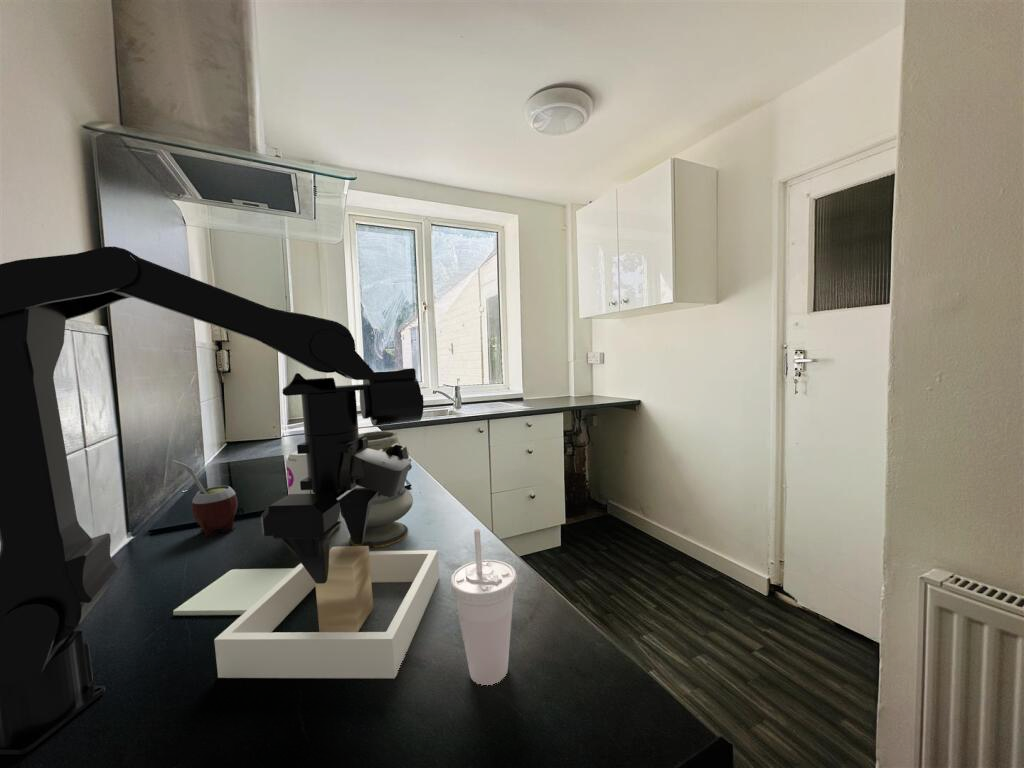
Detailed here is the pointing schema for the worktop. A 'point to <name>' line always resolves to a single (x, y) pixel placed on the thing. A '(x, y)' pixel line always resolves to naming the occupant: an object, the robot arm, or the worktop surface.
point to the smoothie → (485, 614)
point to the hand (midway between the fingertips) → (341, 561)
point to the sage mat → (233, 592)
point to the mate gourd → (213, 506)
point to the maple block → (345, 590)
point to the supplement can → (297, 473)
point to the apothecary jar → (385, 503)
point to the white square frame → (327, 654)
